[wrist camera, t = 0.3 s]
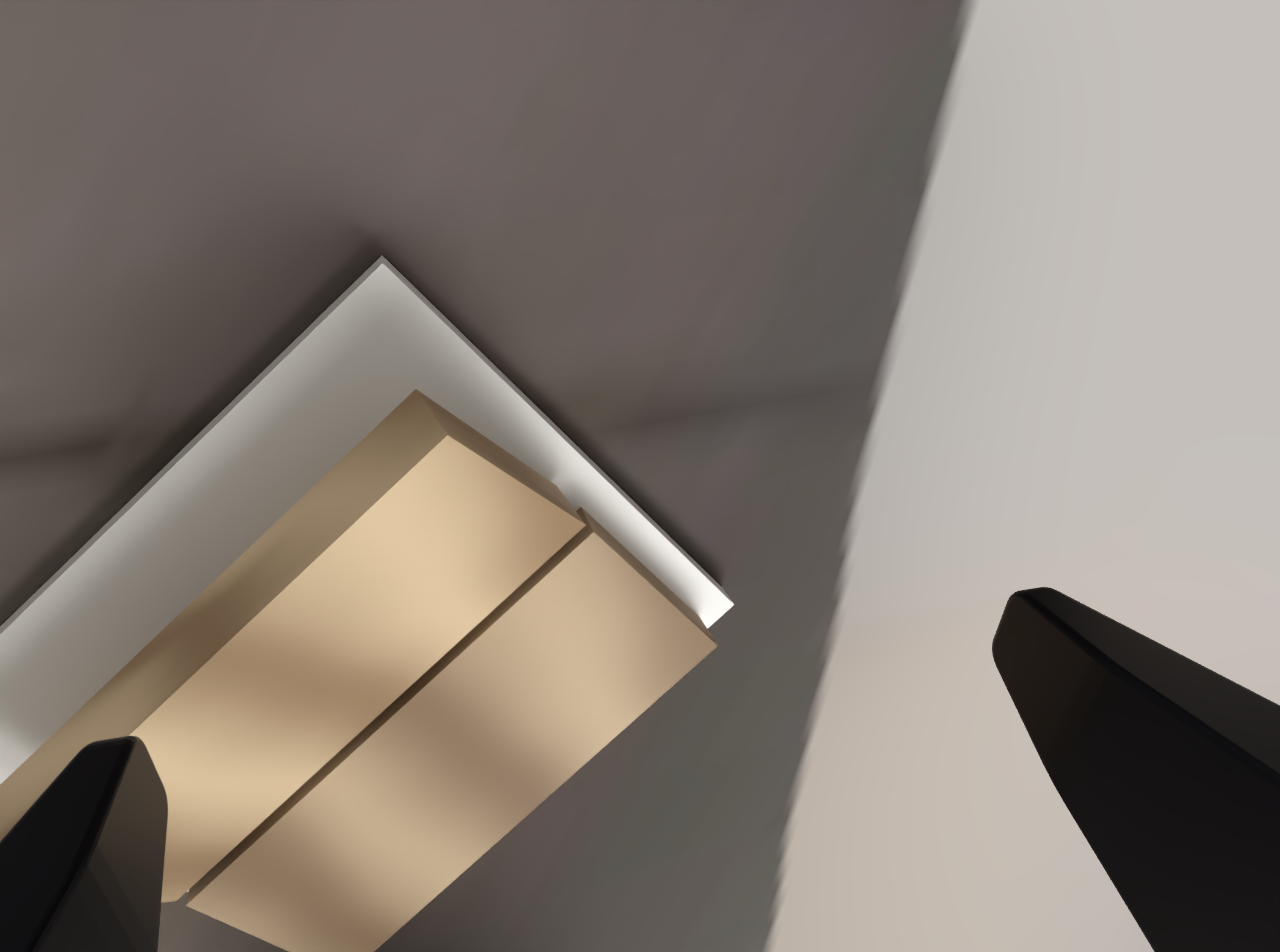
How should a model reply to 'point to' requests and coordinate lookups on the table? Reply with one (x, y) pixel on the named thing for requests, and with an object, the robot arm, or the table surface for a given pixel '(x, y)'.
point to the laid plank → (461, 754)
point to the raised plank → (316, 629)
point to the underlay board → (287, 495)
